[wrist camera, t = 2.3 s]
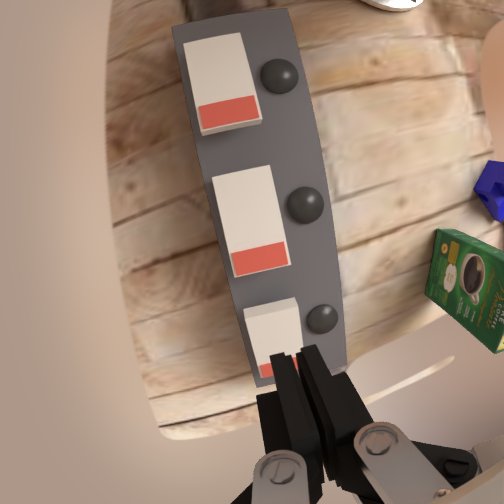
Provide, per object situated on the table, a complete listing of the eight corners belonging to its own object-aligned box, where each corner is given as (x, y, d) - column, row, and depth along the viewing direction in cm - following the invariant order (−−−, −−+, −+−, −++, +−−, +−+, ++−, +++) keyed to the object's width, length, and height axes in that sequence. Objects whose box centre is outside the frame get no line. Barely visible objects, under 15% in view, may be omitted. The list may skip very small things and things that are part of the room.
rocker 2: (267, 168, 23) (269, 164, 21) (287, 260, 24) (291, 264, 22) (213, 180, 23) (211, 177, 21) (234, 272, 24) (234, 278, 22)
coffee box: (440, 295, 32) (512, 351, 20) (422, 296, 32) (494, 357, 19) (453, 228, 30) (539, 265, 17) (435, 227, 30) (523, 267, 17)
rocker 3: (292, 292, 24) (298, 307, 23) (300, 353, 28) (306, 368, 26) (242, 304, 24) (245, 320, 23) (258, 363, 28) (261, 379, 26)
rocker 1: (239, 44, 20) (239, 31, 18) (260, 126, 21) (262, 118, 19) (186, 54, 20) (182, 42, 18) (203, 138, 21) (200, 131, 19)
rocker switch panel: (278, 26, 23) (287, 6, 19) (334, 343, 32) (347, 366, 28) (178, 43, 22) (170, 25, 18) (252, 363, 32) (256, 389, 28)
